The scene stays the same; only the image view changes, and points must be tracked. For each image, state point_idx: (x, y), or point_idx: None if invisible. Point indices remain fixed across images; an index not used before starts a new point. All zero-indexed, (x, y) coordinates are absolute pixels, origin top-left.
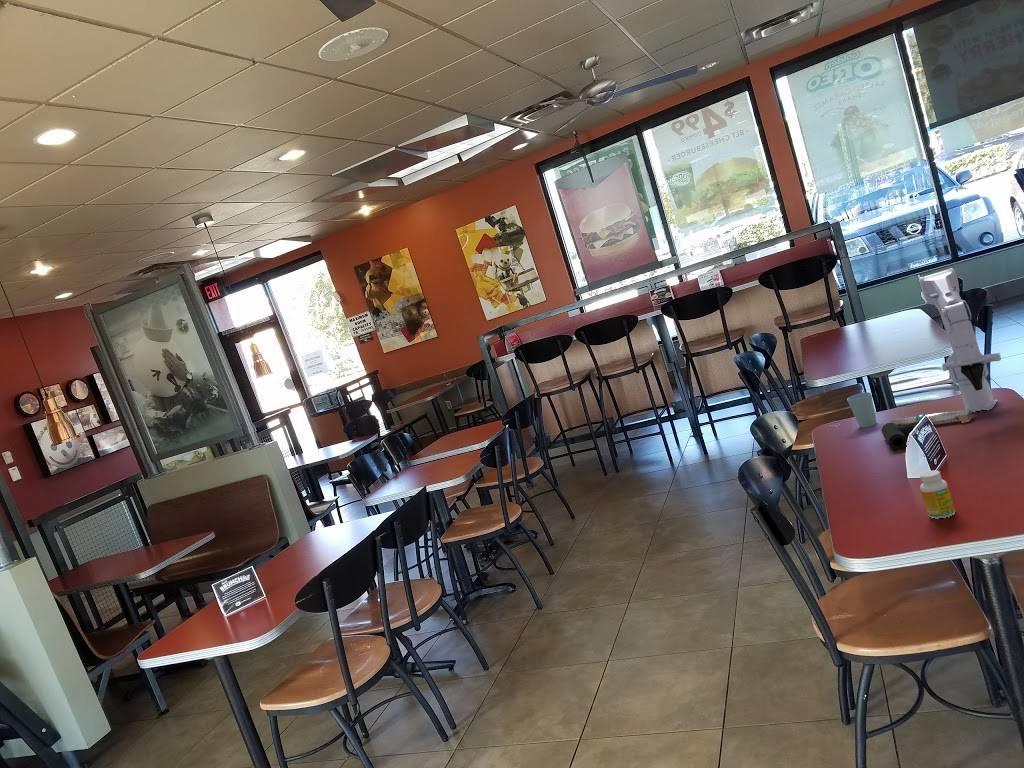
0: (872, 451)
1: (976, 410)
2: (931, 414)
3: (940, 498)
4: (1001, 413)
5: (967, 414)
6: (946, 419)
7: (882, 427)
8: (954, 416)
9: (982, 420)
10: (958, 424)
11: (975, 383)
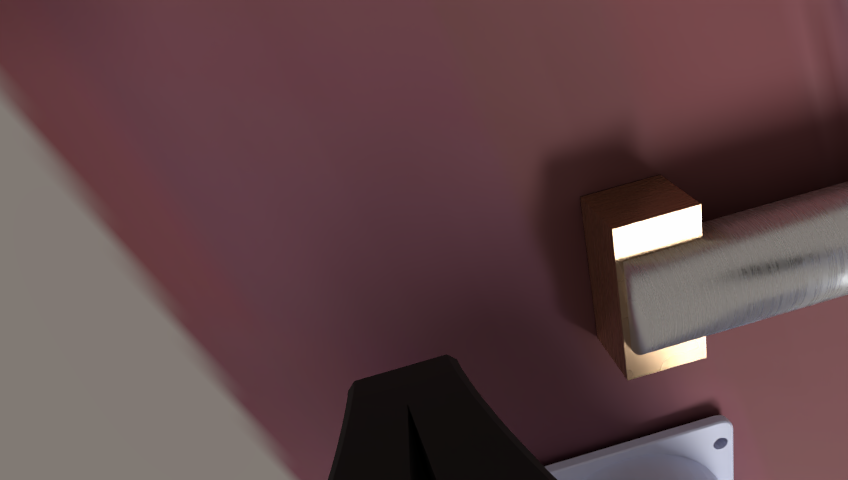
0: None
1: (620, 457)
2: None
3: None
4: None
5: (617, 256)
6: (814, 193)
7: None
8: (745, 223)
9: (464, 236)
10: (670, 153)
11: (434, 476)
